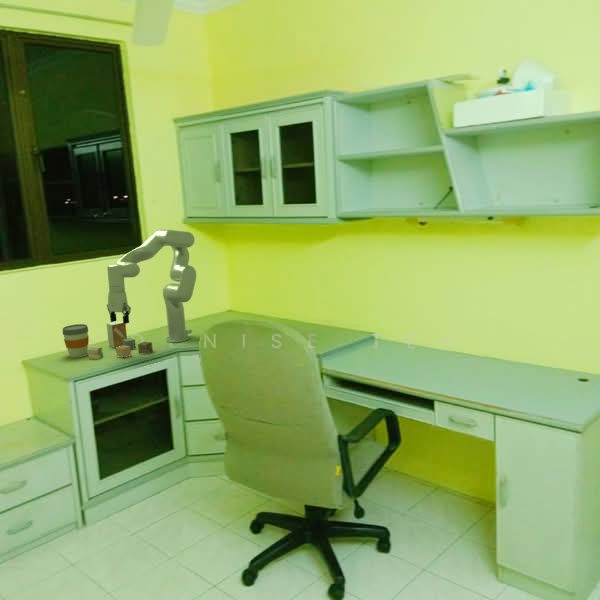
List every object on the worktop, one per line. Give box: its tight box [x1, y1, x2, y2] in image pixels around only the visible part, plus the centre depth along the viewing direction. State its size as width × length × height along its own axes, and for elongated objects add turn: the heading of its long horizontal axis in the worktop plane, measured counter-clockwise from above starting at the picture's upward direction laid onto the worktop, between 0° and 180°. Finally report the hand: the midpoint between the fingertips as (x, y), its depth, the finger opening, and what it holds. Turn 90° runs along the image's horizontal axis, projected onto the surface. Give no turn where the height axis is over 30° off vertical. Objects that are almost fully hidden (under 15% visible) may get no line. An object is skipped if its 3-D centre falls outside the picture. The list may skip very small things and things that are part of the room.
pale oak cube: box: [87, 346, 104, 360], centre depth 305 cm, size 5×5×5 cm
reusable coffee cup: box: [62, 323, 90, 358], centre depth 310 cm, size 13×12×15 cm
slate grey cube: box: [122, 337, 137, 350], centre depth 318 cm, size 5×5×5 cm
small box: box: [106, 320, 128, 349], centre depth 324 cm, size 8×6×13 cm
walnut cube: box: [137, 341, 153, 355], centre depth 310 cm, size 5×5×5 cm
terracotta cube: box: [115, 345, 132, 358], centre depth 305 cm, size 5×5×5 cm
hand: (119, 322), depth 301 cm, fingers open, 9 cm apart
